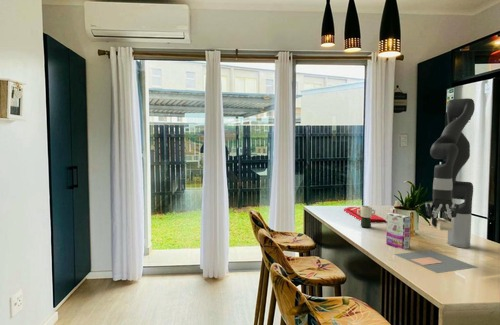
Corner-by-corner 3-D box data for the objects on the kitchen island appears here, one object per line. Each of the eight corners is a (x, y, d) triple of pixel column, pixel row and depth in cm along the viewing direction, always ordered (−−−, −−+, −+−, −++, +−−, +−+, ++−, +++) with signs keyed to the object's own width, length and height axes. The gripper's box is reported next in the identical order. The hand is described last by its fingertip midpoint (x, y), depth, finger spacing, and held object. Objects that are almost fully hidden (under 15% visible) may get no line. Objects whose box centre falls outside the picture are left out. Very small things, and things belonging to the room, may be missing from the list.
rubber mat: (394, 255, 157) (394, 253, 157) (430, 251, 163) (430, 249, 163) (437, 274, 134) (437, 272, 134) (477, 268, 141) (477, 266, 141)
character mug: (373, 226, 214) (374, 205, 213) (376, 228, 207) (376, 208, 206) (355, 225, 215) (356, 205, 214) (357, 228, 208) (358, 207, 207)
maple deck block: (430, 225, 154) (430, 217, 154) (442, 225, 153) (442, 218, 153) (440, 230, 145) (440, 222, 145) (452, 230, 144) (452, 222, 144)
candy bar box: (410, 249, 167) (411, 216, 166) (403, 250, 165) (404, 217, 164) (392, 243, 177) (393, 212, 176) (385, 244, 175) (386, 213, 174)
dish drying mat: (363, 223, 222) (363, 218, 222) (343, 211, 263) (343, 206, 263) (386, 223, 223) (386, 217, 223) (362, 211, 264) (362, 206, 264)
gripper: (455, 187, 151) (453, 224, 152) (422, 187, 153) (420, 223, 153) (464, 189, 144) (462, 228, 145) (429, 189, 145) (427, 227, 146)
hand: (441, 226), depth 149 cm, fingers closed on maple deck block, 5 cm apart
